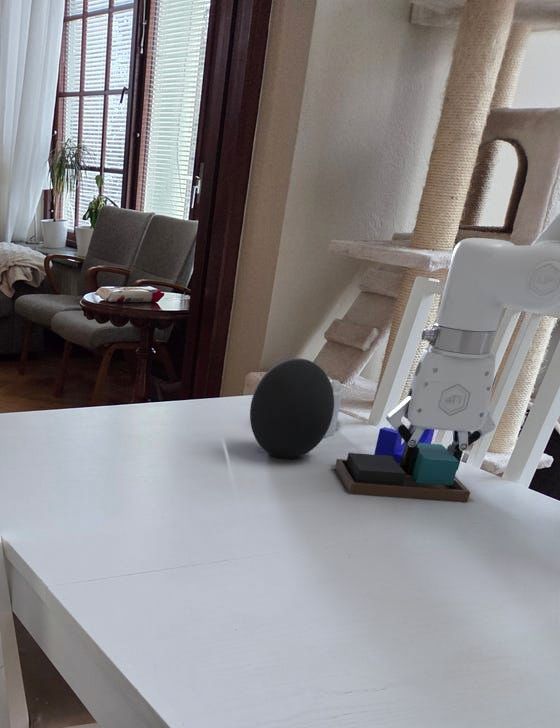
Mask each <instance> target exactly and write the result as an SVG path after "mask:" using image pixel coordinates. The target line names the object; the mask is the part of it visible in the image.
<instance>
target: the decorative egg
mask: <svg viewBox="0 0 560 728" xmlns="http://www.w3.org/2000/svg"><path fill="white" fill-rule="evenodd" d="M327 376H328V375H327V373H326V372H325V371H324V370H323V368H322V367H320V366H319V365H318V364H316V362H313V361H311V360H309V359H305V358H302V357H301V358H299V357H293V358H289V359H285V360H282V361H280V362H277V363H276V364H274V365H273V366H272V367H270V368H269V369H268V370H267V371H266V372H265V373H264V374H263V376H262V377H261V378H260V379H259V381H258V383H257V385H256V387H255V389H254V391H253V394H252V397H251V401H250V407H249V421H250V428H251V431H252V434H253V436H254V438H255V440H256V442H257V443H258V445H259V446H260V447H261V448H262V450H263V451H265V452H266V453H267V454H269V455H270V456H273V457H275V458H279V459H284V460H285V459H287V460H289V459H291V460H292V459H296V458H297V459H298V458H300V457H302V456H304V455H306V454H308V453H310V452H311V451H313V450H314V449H315V448H316V447H317V446H318V445H319V444H320V443H321V441H322V440H323V439H324V438H325V437H324V436H325V434H326V432H327V431H328V429H329V426H330V424H331V421H332V417H333V412H334V394H333V389H332V385H331V383H330V380H329V378H328V377H329V376H328V377H327ZM323 437H324V438H323Z"/></svg>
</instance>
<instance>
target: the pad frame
mask: <svg viewBox="0 0 560 728" xmlns="http://www.w3.org/2000/svg"><path fill="white" fill-rule="evenodd" d="M346 462H347V458H346V459H345V458H344V459H343V458H336V460H335V466H334V470H335V472H336V474H337V475H338V477H339V479H340V480H341V482H342V484H343V485H344V487H345V489H346V490H347V492H348V494H349V495H353V496H354V495H356V496H368V497H369V496H370V497H383V498H398V499H411V500H412V499H413V500H425V501H426V500H427V501H439V502H451V503H454V502H455V503H468V502H469V499H470V496H471V495H470V494H471V491H470V490H469V489H468V488H467V487H466V486H465V485H464V484H463V482H461V481H460V480H459V478H458V477H457V476H456V475H455V478H454V482H453V485H452V486H450V485H436V484H423V483H416V482H415V481H414V479H413V478H412V477H411V476H410V475H407V474H406V475H405V479H404V483H403V486H397V485H383V484H369V483H355V482H354V480H353V478H352V477H351V475H350V474H349V472H348V470H347V469H346ZM398 464H399V465H400V467H401V468H402V469H403V467H402V466H401V463H398ZM404 472H405V471H404Z"/></svg>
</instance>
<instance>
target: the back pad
mask: <svg viewBox="0 0 560 728" xmlns="http://www.w3.org/2000/svg"><path fill="white" fill-rule="evenodd" d="M346 460H347V462H346V469H347V470H348V472H349V474H350V475H351V477H352V478H353V480H354V482H355V483H369V484H383V485H397V486H403V483H404V479H405V475H406V473H405V472H404V470H403V469H402V468H401V467H400V465H399V464H398V463H397V462H396V460H395V459H394V458H393V457H392V456H386V455H374V454H373V453H372V454H371V453H369V454H368V453H356V452H348V453H347V457H346Z"/></svg>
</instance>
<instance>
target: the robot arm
mask: <svg viewBox="0 0 560 728" xmlns="http://www.w3.org/2000/svg"><path fill="white" fill-rule="evenodd" d="M504 304H507V305H511V306H514V307H518V308H522V309H527V310H530V311H538V312H539V311H548V310H553V309H555V308H558V307H560V211H559V212H558V213H557V214H556V215H555V217H553V219H552V220H551V221H550V222H549V223H548V224H547V226H546V227H545V228H544V229H543V231H542V232H541V233H540V234H539V235H538V236H537V237H536V238H535V240H534V241H533V242H532V243H530V245H519V244H518V245H515V244H514V243H513V242H512V241H508V240H504V239H496V238H485V237H467V238H464V239H462V240H460V241H459V242H458V243H457V244H456V246H455V247H454V249H453V252H452V255H451V260H450V264H449V268H448V272H447V276H446V279H445V284H444V288H443V292H442V296H441V300H440V304H439V309H438V313H437V317H436V322H435V323H433V327H432V328H429V329H423V331H422V332H421V340H422V341H426V342H427V343H428V344H429V347H425V348H424V350H423V351H422V352H421V356H420V358H419V360H418V363H417V364H416V367H415V370H414V372H413V374H412V377H411V381H410V384H409V386H408V390H407V393H406V396H405V399H404V400H403V401H401V402H400V403H399V404H398V405H397V406H396V407H395V408H394V409H393V410H392V411H391V412H390V413H388V414H387V415H386V417H385V418H386V421H387V422H388V423H389V424H390V425H391V427H392V428H393V429H394V430H397V431H398V433H399V434H400V436H401V437H402V441H403V442H404V441H405V446H404V450H403V454H402V458H401V466H402V467H403V470H404V471H405V473H406V474H407V475H412V473H413V470H414V466H415V462H416V458H417V454H418V453H419V448H418V447H417V444H418V441H419V439H420V437H421V436H422V434H423V432H424V430H425V429H435V431H436V430H438V431H439V430H440V431H451V432H452V442H451V444H448V446H447V448H446V449H447V450H448V451H449V452H450V453H451V454H452V455H453V456H454V457H455V458H456V459H457V460H458V461H459V464H458V468H457V471H458V470H459V468H460V464H461V460H462V457H463V453H464V452H465V451H467V450H468V448H469V447H470V446H471V445H473V444H474V443H475V442H477V441H478V440H479V439H480V438H481V437H484V436H485V435H487V434H488V433H491V432H493V431H494V430H495V429H496V423H495V422H494V420H493V417H492V416H491V414H490V411H489V407H490V401H491V397H492V391H493V385H494V379H495V371H496V359H497V358H496V356H495V355H494V354H492V353H491V349H492V347H493V343H494V340H495V336H496V333H497V329H498V326H499V323H500V319H501V315H502V312H503V309H504V308H503V307H504ZM403 417H404V418H405V419H406V420H407V421H408V422H409V423H410V424H409V426H408V427H407V426H406V425H405V424H404V423H403V422H402V418H403Z"/></svg>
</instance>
